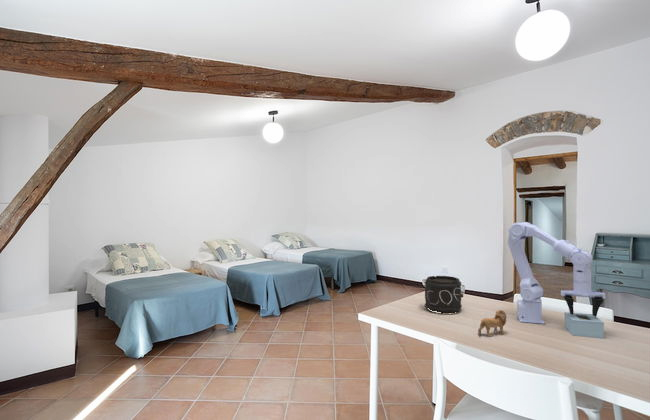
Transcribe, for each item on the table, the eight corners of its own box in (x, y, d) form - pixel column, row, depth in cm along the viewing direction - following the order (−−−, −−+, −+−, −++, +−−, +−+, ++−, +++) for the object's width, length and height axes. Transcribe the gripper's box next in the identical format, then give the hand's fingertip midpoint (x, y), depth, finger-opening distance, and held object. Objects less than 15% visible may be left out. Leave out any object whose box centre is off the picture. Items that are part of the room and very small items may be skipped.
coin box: (572, 335, 134) (572, 320, 134) (564, 326, 145) (564, 312, 145) (604, 338, 131) (603, 322, 131) (593, 328, 141) (593, 314, 141)
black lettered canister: (462, 317, 160) (461, 283, 160) (422, 312, 167) (422, 280, 167) (464, 307, 176) (463, 276, 176) (428, 303, 184) (427, 274, 184)
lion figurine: (498, 329, 143) (498, 307, 143) (510, 333, 138) (510, 310, 138) (474, 335, 136) (473, 312, 136) (485, 339, 131) (485, 316, 131)
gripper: (563, 282, 137) (564, 316, 137) (608, 284, 131) (609, 319, 131) (558, 278, 143) (559, 311, 143) (601, 280, 138) (601, 314, 138)
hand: (583, 314), depth 138 cm, fingers open, 7 cm apart
